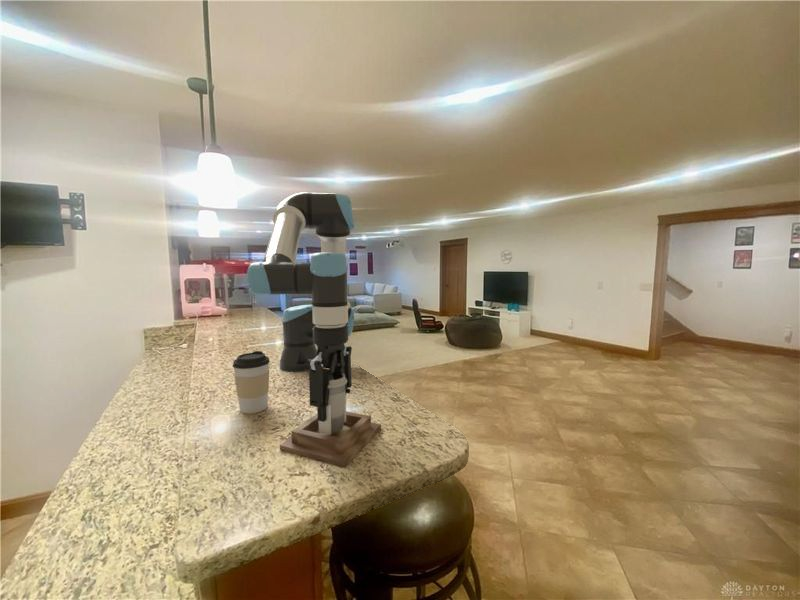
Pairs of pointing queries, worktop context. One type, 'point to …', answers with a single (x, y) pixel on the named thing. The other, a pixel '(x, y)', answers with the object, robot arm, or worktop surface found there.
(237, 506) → the worktop surface
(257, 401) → the coffee cup
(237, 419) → the worktop surface
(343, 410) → the cup
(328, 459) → the holder
